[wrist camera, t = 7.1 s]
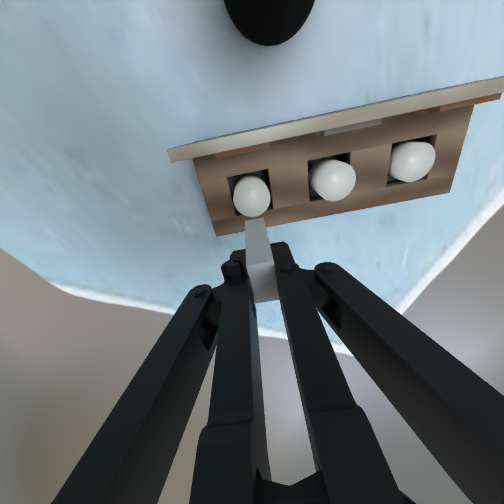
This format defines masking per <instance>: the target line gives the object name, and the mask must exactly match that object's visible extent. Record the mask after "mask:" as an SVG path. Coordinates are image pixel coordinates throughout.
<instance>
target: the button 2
mask: <svg viewBox="0 0 504 504" xmlns="http://www.w3.org/2000/svg"><path fill="white" fill-rule="evenodd" d="M434 161H435V150H434V148H433V146H432V145H430V144H428V143H423V142H410V141H401V142H396V143H392V146H391V154H390V162H389V169H388V176H389V177H392V178H395V179H399V180H402V181H405V182H414V181H417V180H419V179H421V178H422V177H424V176H425V175H426V174H427V173H428V172H429V170H430V169H431V168H432V166H433V164H434Z"/></svg>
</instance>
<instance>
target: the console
mask: <svg viewBox="0 0 504 504" xmlns="http://www.w3.org/2000/svg"><path fill="white" fill-rule="evenodd" d="M502 92H504V76H500V77H495V78H490V79H485V80H480V81H475V82H470V83H465V84H460V85H456V86H451V87H446V88H441V89H436V90H431V91H427V92H422V93H417V94H413V95H408V96H403V97H399V98H394V99H390V100H385V101H380V102H376V103H371V104H367V105H362V106H357V107H353V108H348V109H343V110H339V111H334V112H330V113H325V114H320V115H316V116H311V117H307V118H302V119H297V120H293V121H288V122H283V123H279V124H274V125H270V126H265V127H260V128H256V129H251V130H246V131H242V132H237V133H233V134H228V135H223V136H219V137H214V138H210V139H205V140H200V141H196V142H193V143H189V144H185V145H182V146H178V147H174V148H171V149H167V152H168V155H169V157H170V160H171V163H172V162H176V161H181V160H186V159H191V158H193V161H194V165H195V168H196V171H197V174H198V178H199V181H200V184H201V188H202V191H203V194H204V198H205V201H206V204H207V207H208V211H209V214H210V217H211V221H212V224H213V227H214V231H215V234H216V237H217V236H222V235H227V234H233V233H238V232H243V231H245V221H248V220H253V219H258V218H264V222H265V227H270V226H275V225H280V224H286V223H291V222H296V221H302V220H307V219H312V218H317V217H323V216H328V215H333V214H339V213H344V212H349V211H355V210H360V209H365V208H371V207H376V206H381V205H386V204H392V203H397V202H402V201H408V200H413V199H418V198H424V197H429V196H434V195H439V194H445V193H450V189H451V186H452V182H453V179H454V175H455V171H456V168H457V164H458V161H459V157H460V154H461V150H462V146H463V143H464V139H465V136H466V132H467V129H468V125H469V122H470V118H471V114H472V111H473V107H474V104H479V103H484V102H488V101H493V100H498V99H500V97H501V94H502ZM415 138H420V139H419V142H423V143H428V144H430V145H432V146H433V148H434V150H435V161H434V164H433V166H432V168H431V169H430V170H429V172H428V173H427V174H426V175H425V176H424V177H422V178H421V179H419V180H417V181H414V182H405V181H402V180H397V181H392V182H387V177H388V169H389V162H390V154H391V146H392V143H396V142H401V141H406V140H411V139H415ZM342 153H347V164H349V165H350V166H351V167H352V168H353V169H354V171H355V174H356V182H355V185H354V187H353V189H352V191H351V192H350V193H349V194H348V195H347V196H346V197H345V198H343V199H341V200H338V201H328V200H325V199H324V198H323V197H321V196H315V197H310V198H309V182H308V163H307V161H308V160H313V159H318V158H323V157H328V156H332V155H337V154H342ZM264 169H268V176H269V183H270V190H271V197H272V204H273V205H269V206H268V208H267V210H266V211H265V212H264V213H262V214H261V215H259V216H255V217H248V216H245V215H243V214H241V213H240V212H239V211H238V212H236V211H235V207H234V203H233V198H232V194H231V190H230V186H229V181H228V177H230V176H235V175H240V174H244V173H249V172H254V171H259V170H264Z"/></svg>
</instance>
